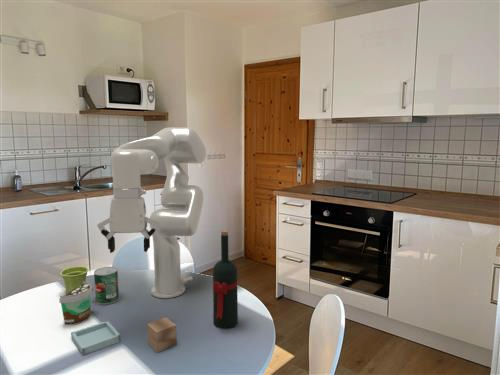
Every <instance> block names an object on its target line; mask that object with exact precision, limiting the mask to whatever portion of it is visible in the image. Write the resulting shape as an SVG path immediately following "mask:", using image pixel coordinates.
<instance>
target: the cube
mask: <svg viewBox="0 0 500 375" xmlns="http://www.w3.org/2000/svg"><path fill="white" fill-rule="evenodd" d="M146 332H147V333H146V334H147V344H148V345H149V346H151V348H152V349H153V350H155V351H156V352H157V353H159V352H162V351H164V350H167V349H169V348H171V347H175V346H176V345H177V340H178V339H177V325H176V324H175V323H174V322H173V321H172V320H170V318H168V317H167V316H166V317H163V318H160V319H157V320H154V321H151V322H148V323H147V324H146Z"/></svg>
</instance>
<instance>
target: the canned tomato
mask: <svg viewBox="0 0 500 375" xmlns="http://www.w3.org/2000/svg"><path fill="white" fill-rule="evenodd" d="M118 274H119V273H118V268H117V267H116V266H102V267H99V268H97V269H95V270H94V271H93V276H94V278H93V279H94V291H95V302H96V304H98V305H111V304H113V303H116V302H117V301H118V300H120V294H119V293H120V292H119V291H120V290H119V275H118Z"/></svg>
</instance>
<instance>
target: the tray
mask: <svg viewBox="0 0 500 375" xmlns="http://www.w3.org/2000/svg"><path fill="white" fill-rule="evenodd" d="M121 336H122V335H121V333H119V332H118V331H117V329H116V328H115V327H114V326H113V325H112V324H111V323H110V321H108V320H106V321H102V322H99V323H97V324H93V325H90V326H87V327H85V328H81V329H78V330H75V331H72V332H70V337H71V338H70V339H71V340H72V341H73V343H74V344H75V347H76V348H77V349H78V351H79V353H80V354H81V355H82V356H85V355H88V354H90V353H93V352H95V351H99V350H102V349H104V348H107V347H109V346H112V345H115V344H118V343H121V342H122V341H121V340H122V339H121V338H122V337H121Z"/></svg>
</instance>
